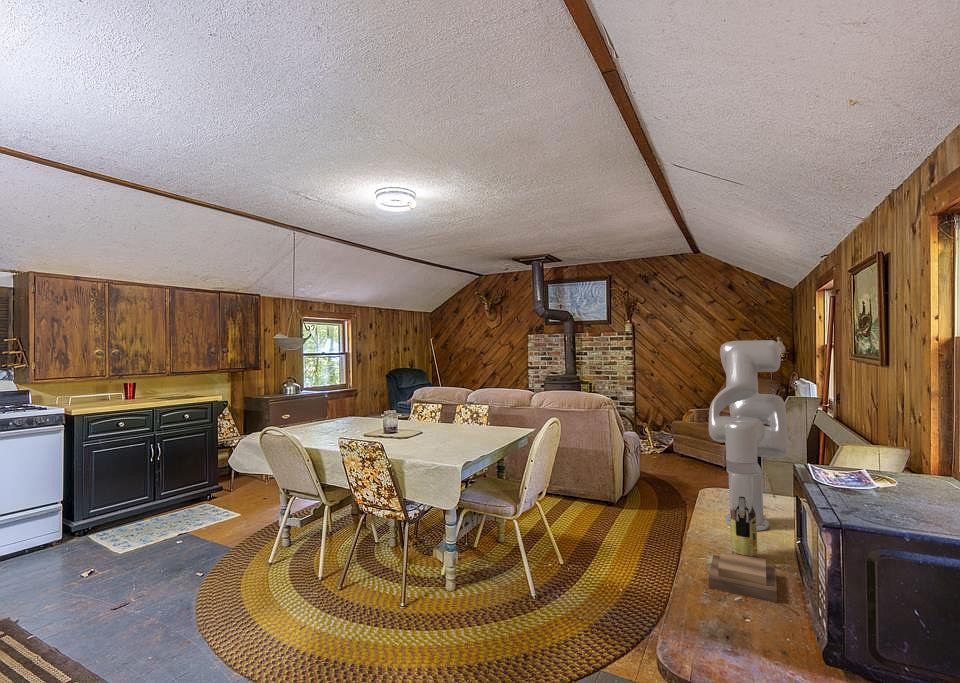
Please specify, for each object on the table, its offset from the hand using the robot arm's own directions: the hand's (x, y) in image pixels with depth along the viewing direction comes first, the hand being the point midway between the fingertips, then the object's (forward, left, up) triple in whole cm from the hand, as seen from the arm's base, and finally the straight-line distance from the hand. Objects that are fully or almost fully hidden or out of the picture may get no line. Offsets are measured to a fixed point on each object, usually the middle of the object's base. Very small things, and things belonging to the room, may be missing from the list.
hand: (743, 530), depth 131 cm
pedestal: (+15, 0, -8) cm, 17 cm away
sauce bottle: (0, 0, -8) cm, 8 cm away
